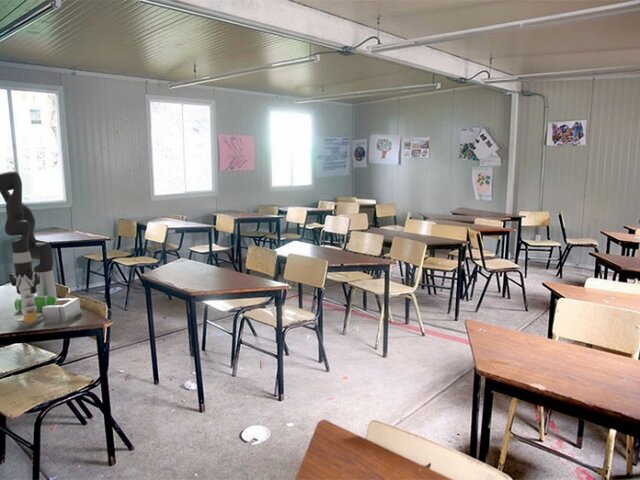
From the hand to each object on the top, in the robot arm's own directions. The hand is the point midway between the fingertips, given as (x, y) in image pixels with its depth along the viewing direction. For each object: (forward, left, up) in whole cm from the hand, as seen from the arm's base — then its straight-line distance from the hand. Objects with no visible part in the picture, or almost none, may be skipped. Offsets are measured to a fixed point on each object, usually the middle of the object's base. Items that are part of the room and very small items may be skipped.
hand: (27, 293), depth 238 cm
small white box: (+6, +14, -13) cm, 20 cm away
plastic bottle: (0, 0, -11) cm, 11 cm away
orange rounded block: (+11, +7, -13) cm, 18 cm away
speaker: (-14, -5, -13) cm, 20 cm away
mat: (0, 0, -13) cm, 13 cm away
